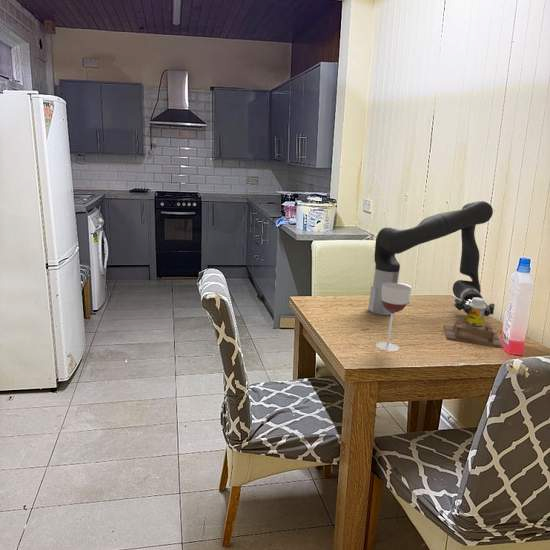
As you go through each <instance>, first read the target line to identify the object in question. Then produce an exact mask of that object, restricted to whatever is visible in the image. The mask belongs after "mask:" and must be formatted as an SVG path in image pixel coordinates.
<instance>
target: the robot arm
mask: <svg viewBox="0 0 550 550" xmlns="http://www.w3.org/2000/svg"><path fill="white" fill-rule="evenodd" d="M493 213H494V208H493V207H492V205H491V204H490V203H489V202H487V201H483V200H482V201H481V200H479V201H474V202H469V203H466V204H465V205H463V206H462V208H461V209H457V210H450V211H446V212H440V213H437V214H434V215H430V216H427V217H425V218H423V219H422V220H421V221H420V222H419V223H418V224H417V225H416V226H414V227H410V228H407V229H396V228H392V227H389V226H388V227H387V226H386V227H383V228H381V229H380V230H379V232H378V233H377V235H376V238H375V244H374V245H375V246H374V264H375V269H374V275H373V283H372V286H371V287H370V294H369V301H368V308H367V309H368V311H369V312H370V313H371V314H373V315H374V314H375V315H379V316H391V312H389V311H388V310H387V309H386V308H384V306H383V304H382V284H383V283H399V276H400V269H401V264H400V262H399V261H398V260H397V259H396V256H395V255H398V254H402V253H404V252H406V251H408V250H411V249H412V248H415V247H416V246H419V245H422V244H425V243H428V242H431V241H434V240H438V239H441V238H443V237H446V236H449V235H451V234H453V233H456V232H458V231H461V233H460V234H461V253H460V254H461V255H460V263H459V273H460V274H462V275H465V276H468V277H470V279H471V280H463V279H458V280H456V281H455V282H454V283H453V284H452V293H453V295H454V297H455V299H454V303H453V306H454V308H456V309H457V310H458V311H463V312H464V313H466V315H467V314H469V311H470V307H469V304H470V303H471V302H472V299H473V298H474V297H477V298H482V299H484V298H483V296H482V294H481V293H482V289H481V284H480V279H479V266H480V264H479V263H480V257H481V256H480V251H479V250H480V249H479V247H478V245H477V242H476V236H475V232H476V231H475V230H476V227H477V225H482V224H486V223H487V222H489V221H490V220H491V219H492V216H493V215H494V214H493ZM484 305H485V306H486V311H485V316H484V317H488V316H490V315H494V312H495V311H494V310H495V306H496V305H495V303H489V304H487V303H486V302H484Z"/></svg>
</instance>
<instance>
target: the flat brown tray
mask: <svg viewBox="0 0 550 550" xmlns="http://www.w3.org/2000/svg"><path fill="white" fill-rule="evenodd" d="M453 322H454V323H453V326H452V325H446V324H444V325H443V331H444V334H445V338H446V340H450V341H456V342H461V343H462V342H463V343H470V344H477V345H481V344H482V345H481V346H483V345H484V346H488V345H489V347H494V346H498V347H497V348H501V347H500V346H502V345H503V344H502V345H501V343H502V341H501V339H500V338H499V336H498V335H497V333H496V332H495V331H494V330H493V327H492V326H491V324H485V325H484V328H483V329H481V328H480V329H474V328H470V327H467V326H466V327H465V326H462V325H461V322H460V320H459V319H454V321H453Z"/></svg>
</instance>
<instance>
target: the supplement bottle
mask: <svg viewBox="0 0 550 550" xmlns="http://www.w3.org/2000/svg"><path fill="white" fill-rule="evenodd" d="M482 298H483V297H482ZM482 298H477V297H474V298H473V299H472V302H471V303H470V304H469V307H470V311H469V314H467V313H466V320H465V321H466V322H465V326H466V327H467V328H473V329H480V330H481V329H482V328H483V326H484V320H485V317H486V316H485V311H486V306H485V305H484V303H486V302H485V298H483V299H482Z"/></svg>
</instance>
